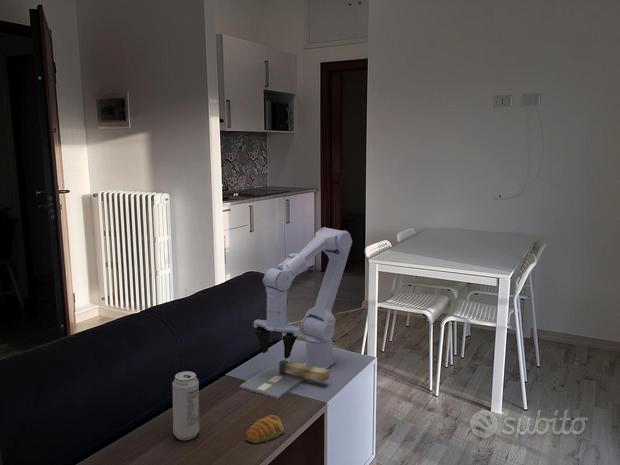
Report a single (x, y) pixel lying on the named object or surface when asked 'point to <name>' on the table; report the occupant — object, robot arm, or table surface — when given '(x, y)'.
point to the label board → (272, 383)
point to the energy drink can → (185, 405)
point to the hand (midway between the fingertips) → (276, 354)
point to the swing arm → (303, 370)
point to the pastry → (265, 429)
